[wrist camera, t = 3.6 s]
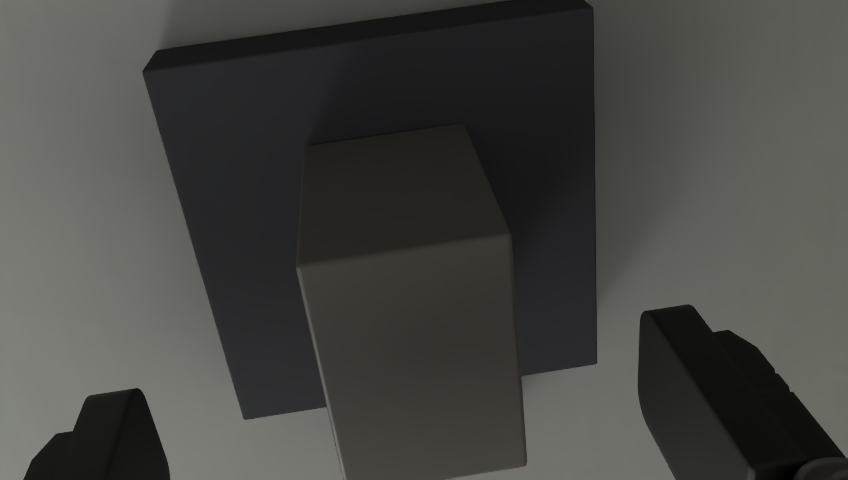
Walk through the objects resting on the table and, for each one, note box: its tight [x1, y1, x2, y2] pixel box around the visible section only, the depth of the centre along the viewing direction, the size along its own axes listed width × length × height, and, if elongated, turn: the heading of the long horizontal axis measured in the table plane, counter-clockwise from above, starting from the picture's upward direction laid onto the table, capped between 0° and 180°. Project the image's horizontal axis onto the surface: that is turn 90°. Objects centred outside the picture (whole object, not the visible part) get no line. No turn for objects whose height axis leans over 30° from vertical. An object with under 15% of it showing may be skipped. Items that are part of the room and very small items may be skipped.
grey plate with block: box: [143, 0, 597, 480], centre depth 17 cm, size 9×12×6 cm
